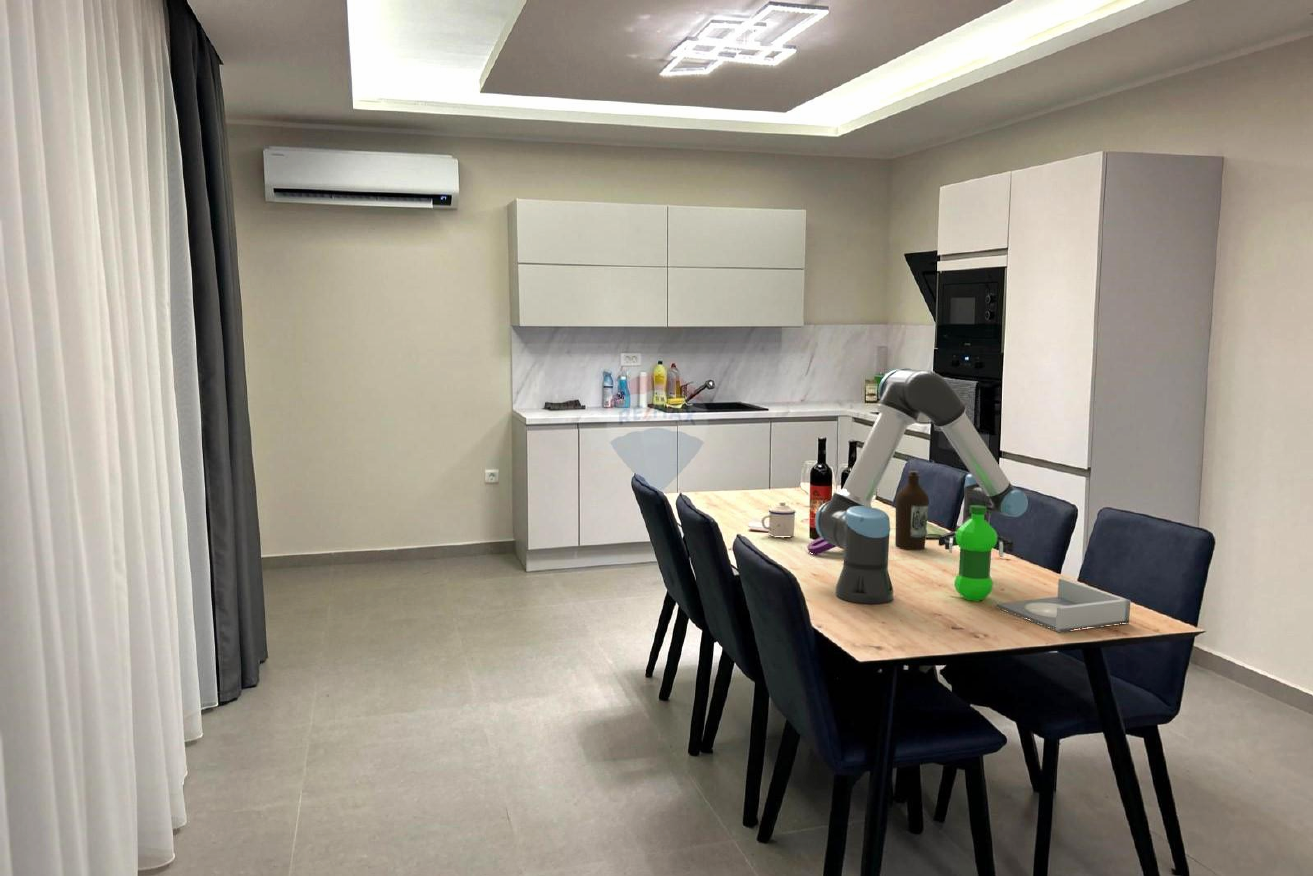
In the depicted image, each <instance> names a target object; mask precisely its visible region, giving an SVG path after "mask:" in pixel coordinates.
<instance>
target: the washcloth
mask: <svg viewBox="0 0 1313 876" xmlns="http://www.w3.org/2000/svg"><path fill="white" fill-rule="evenodd" d="M926 530H927V535H926V538H934V539H939V536H941V535H944V534H947V533H949V532H948V531H946V530H945V529H943V528H942V527H939V526H935V525H933V524H932V523H929V522H927V527H926Z"/></svg>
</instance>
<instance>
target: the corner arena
mask: <svg viewBox="0 0 1313 876" xmlns="http://www.w3.org/2000/svg"><path fill="white" fill-rule="evenodd" d="M1057 583H1058V586H1057V596H1052V597H1044V598H1036V599H1025V600H1018V601H1017V600H1016V601H1008V602H999V603H996V604H995V607H998V608H997V609H999V608H1000V609H999V610H1001V609H1004V610H1006V611H1008V612H1007V613H1009V612H1010V613H1009V614H1011V613H1013V614H1012V615H1014V614H1016V615H1019V616H1021V617H1023V618H1022V619H1024V618H1027V619H1030V620H1031V621H1033V622H1032V623H1034V622H1035V623H1034V624H1036V623H1039V624H1042V625H1043V626H1042V627H1044V626H1045V628H1046V627H1050V628H1052V629H1054V630H1056V631H1058V632H1057V633H1059V632H1065V633H1068V632H1067V631H1071V630H1074V629H1079V628H1080V629H1082V628H1087V627H1101V626H1106V625H1114V624H1120V623H1121V624H1122V623H1129V624H1130V615H1131V614H1130V613H1131V612H1130V611H1131V601H1132V600H1130V599H1128V598H1124V597H1122V596H1119V595H1116V594H1114V593H1113V594H1112V593H1110V592H1107V591H1103V590H1101V589H1098V588H1096V587H1095V588H1094V587H1091V586H1088V585H1085V584H1082V583H1079V582H1076V581H1073V580H1070V579H1067V578H1064V577H1062V578H1061V577H1059V578H1058V581H1057ZM1004 610H1003V611H1004ZM1006 611H1005V612H1006ZM1016 615H1015V616H1016ZM1019 616H1018V617H1019ZM1021 617H1020V618H1021ZM1031 621H1030V622H1031ZM1039 624H1038V625H1039ZM1054 630H1053V631H1054ZM1056 631H1055V632H1056Z"/></svg>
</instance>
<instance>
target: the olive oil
mask: <svg viewBox="0 0 1313 876" xmlns="http://www.w3.org/2000/svg"><path fill="white" fill-rule="evenodd" d="M919 473H920V472H919V471H918V470H917V471H916V470H909V471H908V475H907V483H906V484H905V485H904V486H902V488H901V489H900V490H899V491H898V492H897V494H896V497H895V500H894V501H895V537H894V538H895V540H894V541H895V543H894V544H895V545H894V546H897V547H896V548H898V547H899V549H902V548H903V550H909V549H919V550H924V549H925V546H926V539H925V538H926V535H927V530H926V527H927V523H928V516H929V507H930V499H929V495H928V493H927V492H926V491H925V490H924V488H923V487H922V486H921V484H920V482H919V480H920V479H919V478H920V477H919Z"/></svg>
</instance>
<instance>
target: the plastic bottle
mask: <svg viewBox="0 0 1313 876" xmlns="http://www.w3.org/2000/svg"><path fill="white" fill-rule="evenodd" d="M986 510H987V507H985V506H981V505H971V506H970V510H969V513H971V519H970V520H969V521H967V522H966V523H965V524H963V525H961V526H960V527H958V528H957V530H956V531H955V532H956V543H957V544H958V545H957V546H958V547H959V561H958V563H959V565H958V574H957V575H956V578H955V580H954V584H953V585H954V588H955V591H956V592H957V593H958V594H959V595H960V596H961V597H962V598H963V600H967V601H970V600H973V601H972V602H980V601H979V600H982V601H983V600H985V598H986V597H988V596H989V595H990V594H991V592H992V590H993V587H994V582H993V579H992V577H991V560H992V550H993V549H994V547H995V546H996V542H997V535H998V534H997V531H996V530H995V529H994V527H993V526H991V524H990V525H989V524H988V523H987V522H986V521H985V520H984V515H985V514H986ZM974 600H975V601H974Z"/></svg>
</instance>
